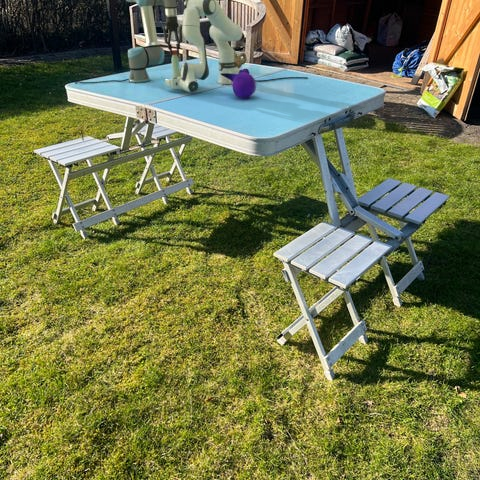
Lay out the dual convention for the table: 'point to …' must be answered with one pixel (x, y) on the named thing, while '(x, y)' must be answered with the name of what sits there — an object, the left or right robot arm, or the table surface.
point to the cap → (174, 52)
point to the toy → (242, 83)
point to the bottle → (175, 66)
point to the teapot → (237, 59)
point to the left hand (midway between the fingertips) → (174, 54)
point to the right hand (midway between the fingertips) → (176, 79)
